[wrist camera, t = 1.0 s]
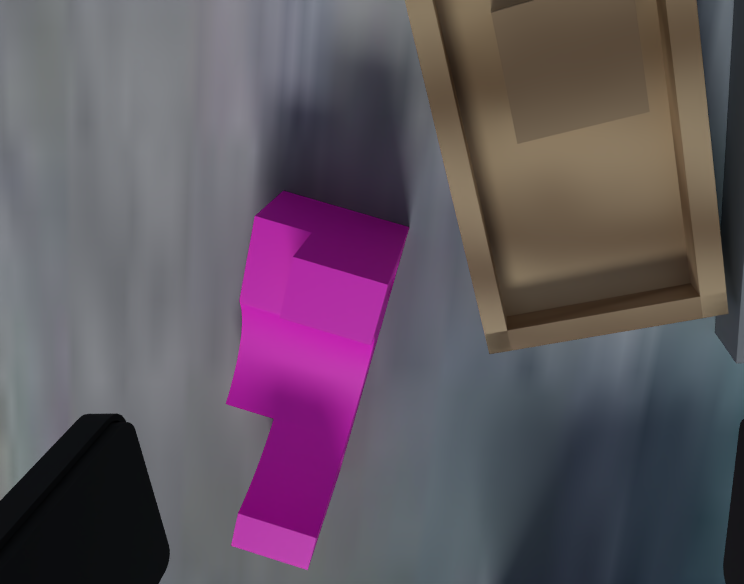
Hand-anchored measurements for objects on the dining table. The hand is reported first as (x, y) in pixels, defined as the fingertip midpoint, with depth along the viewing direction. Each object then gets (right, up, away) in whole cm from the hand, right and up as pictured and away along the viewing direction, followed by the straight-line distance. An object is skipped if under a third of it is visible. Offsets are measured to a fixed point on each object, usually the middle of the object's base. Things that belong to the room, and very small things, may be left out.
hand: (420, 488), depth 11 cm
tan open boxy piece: (+7, +13, +18) cm, 23 cm away
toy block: (-4, +1, +25) cm, 25 cm away
